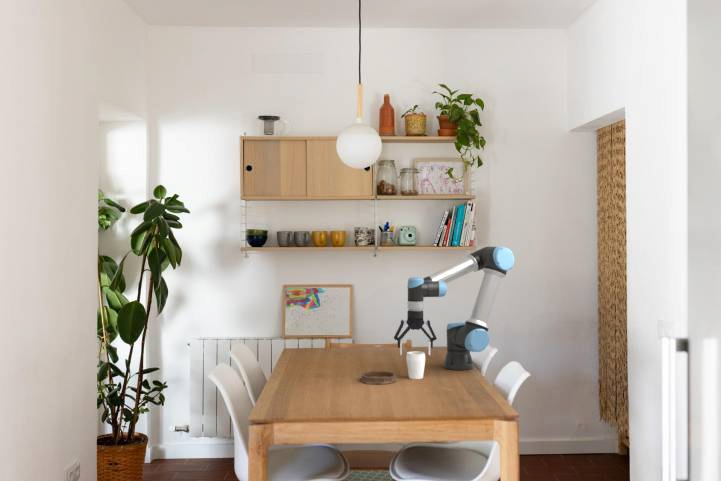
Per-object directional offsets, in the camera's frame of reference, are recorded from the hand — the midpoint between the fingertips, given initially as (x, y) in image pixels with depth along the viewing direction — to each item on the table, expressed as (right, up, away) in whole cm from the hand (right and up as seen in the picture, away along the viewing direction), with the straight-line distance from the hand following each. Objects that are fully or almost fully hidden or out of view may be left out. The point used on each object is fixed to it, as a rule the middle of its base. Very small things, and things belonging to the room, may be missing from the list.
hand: (415, 354), depth 318 cm
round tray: (-17, -11, -5) cm, 21 cm away
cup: (0, -11, 0) cm, 11 cm away
